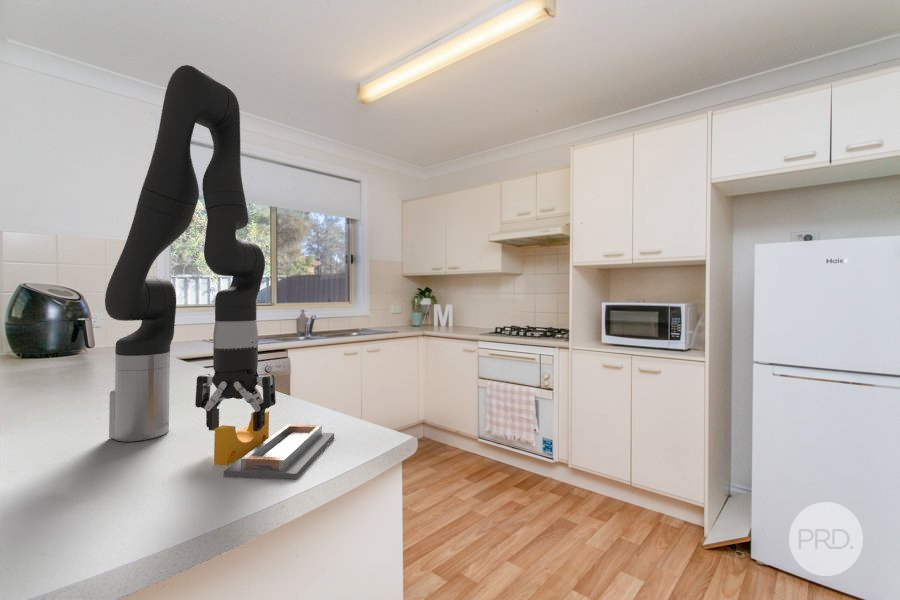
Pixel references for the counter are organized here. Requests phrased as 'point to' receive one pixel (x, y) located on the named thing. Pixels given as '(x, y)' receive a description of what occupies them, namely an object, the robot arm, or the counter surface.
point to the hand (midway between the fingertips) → (235, 429)
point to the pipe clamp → (237, 441)
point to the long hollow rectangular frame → (281, 448)
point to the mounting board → (292, 470)
